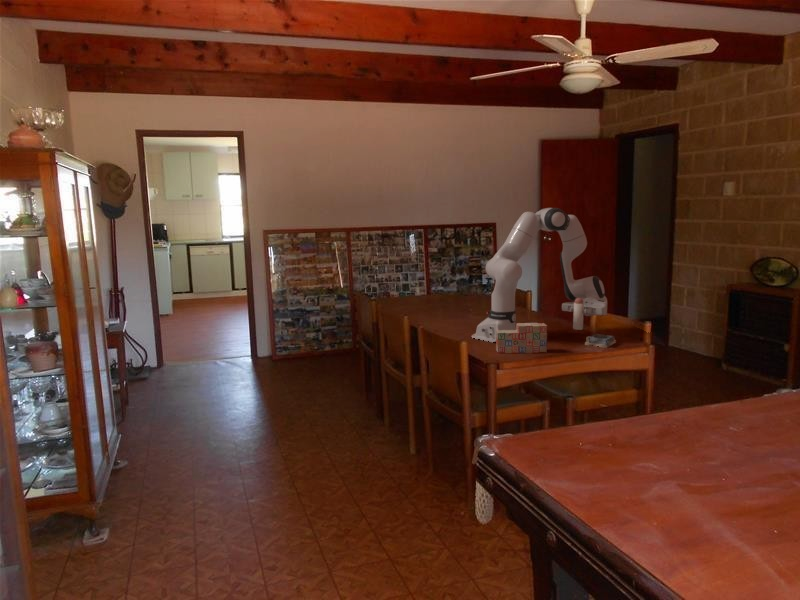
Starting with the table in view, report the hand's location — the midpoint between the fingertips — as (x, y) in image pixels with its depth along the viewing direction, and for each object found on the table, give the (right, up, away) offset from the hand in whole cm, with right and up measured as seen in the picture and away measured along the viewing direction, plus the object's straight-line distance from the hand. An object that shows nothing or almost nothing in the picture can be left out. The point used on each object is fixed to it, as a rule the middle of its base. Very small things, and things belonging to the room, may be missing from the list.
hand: (577, 310), depth 272 cm
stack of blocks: (-28, -18, -9) cm, 35 cm away
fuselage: (+1, -8, +2) cm, 9 cm away
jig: (+10, -15, 0) cm, 18 cm away
